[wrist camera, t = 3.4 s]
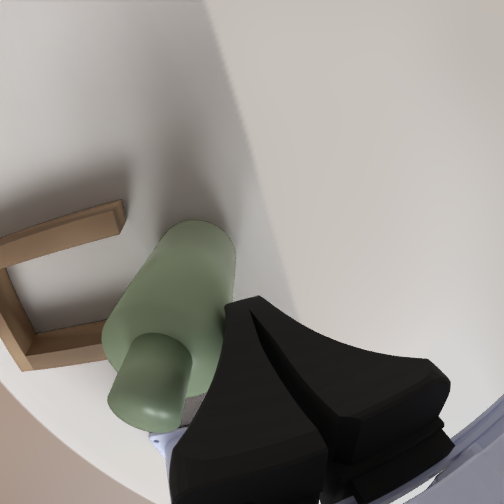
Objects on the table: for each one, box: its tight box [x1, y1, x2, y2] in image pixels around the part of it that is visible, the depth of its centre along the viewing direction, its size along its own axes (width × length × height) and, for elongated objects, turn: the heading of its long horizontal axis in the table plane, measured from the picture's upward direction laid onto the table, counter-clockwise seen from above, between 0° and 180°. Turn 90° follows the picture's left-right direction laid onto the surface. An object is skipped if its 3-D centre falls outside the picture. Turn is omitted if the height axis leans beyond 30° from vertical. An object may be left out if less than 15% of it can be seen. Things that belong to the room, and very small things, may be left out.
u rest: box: [0, 199, 126, 372], centre depth 15 cm, size 8×10×2 cm
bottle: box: [102, 220, 236, 433], centre depth 12 cm, size 4×4×10 cm
